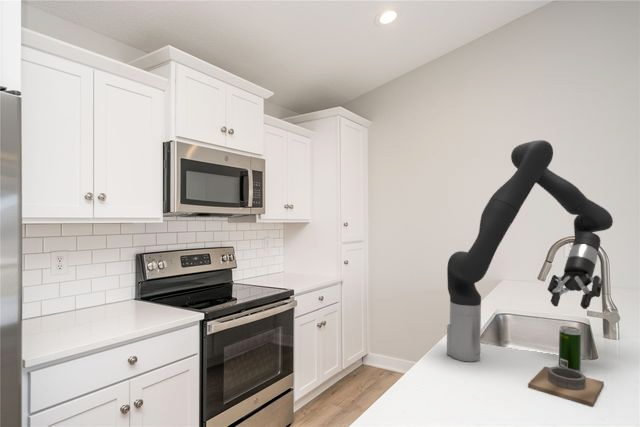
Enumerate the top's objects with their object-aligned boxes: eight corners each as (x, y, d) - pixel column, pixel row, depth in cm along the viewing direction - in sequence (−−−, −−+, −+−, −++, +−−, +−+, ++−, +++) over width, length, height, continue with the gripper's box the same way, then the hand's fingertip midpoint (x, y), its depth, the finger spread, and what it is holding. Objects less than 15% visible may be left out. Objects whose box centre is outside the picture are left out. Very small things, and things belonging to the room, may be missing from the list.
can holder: (528, 387, 100) (528, 374, 100) (544, 369, 112) (544, 357, 112) (592, 406, 91) (592, 392, 91) (603, 385, 102) (603, 372, 102)
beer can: (575, 374, 109) (575, 332, 109) (555, 367, 114) (555, 327, 113) (583, 370, 112) (584, 329, 112) (563, 364, 116) (564, 324, 116)
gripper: (552, 256, 127) (538, 298, 121) (599, 254, 114) (587, 301, 108) (564, 268, 129) (551, 310, 123) (612, 268, 116) (600, 315, 110)
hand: (568, 306), depth 115 cm, fingers open, 8 cm apart
